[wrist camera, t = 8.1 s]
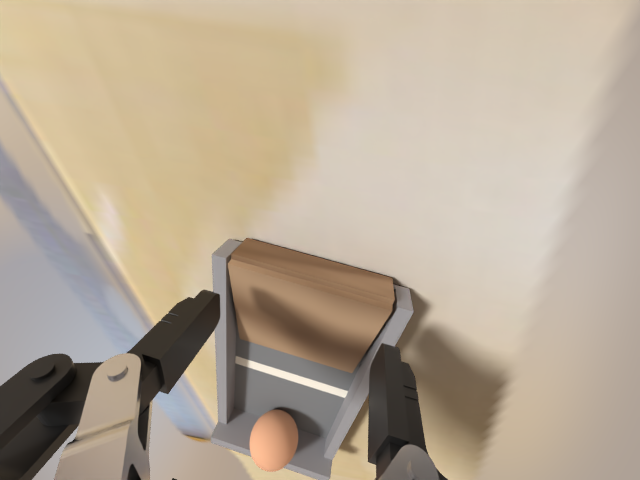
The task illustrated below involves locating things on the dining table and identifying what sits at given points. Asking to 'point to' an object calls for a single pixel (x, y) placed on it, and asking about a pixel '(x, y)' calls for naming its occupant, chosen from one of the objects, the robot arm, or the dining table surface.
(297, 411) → the lane
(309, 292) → the ramp
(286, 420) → the ball
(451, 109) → the dining table surface
